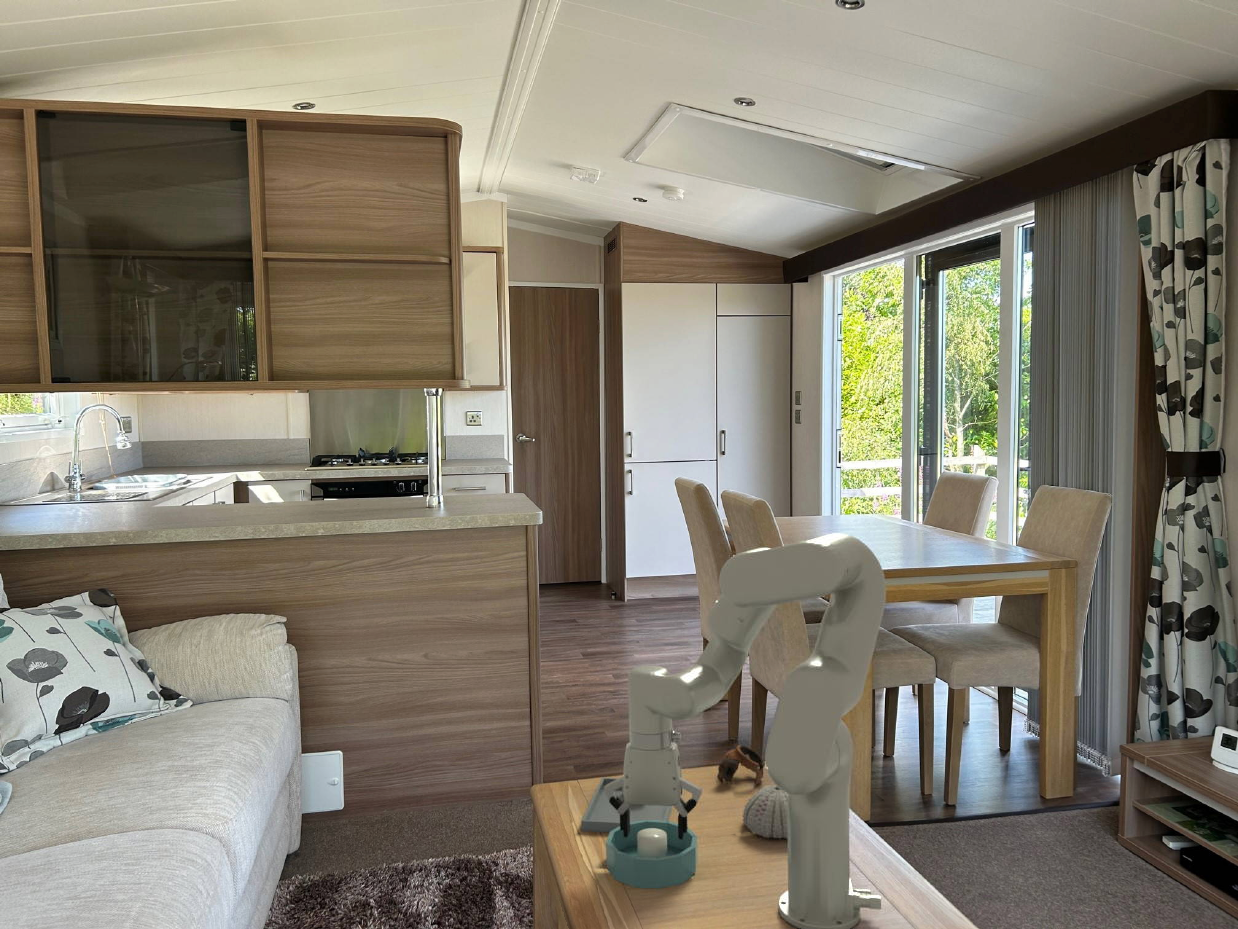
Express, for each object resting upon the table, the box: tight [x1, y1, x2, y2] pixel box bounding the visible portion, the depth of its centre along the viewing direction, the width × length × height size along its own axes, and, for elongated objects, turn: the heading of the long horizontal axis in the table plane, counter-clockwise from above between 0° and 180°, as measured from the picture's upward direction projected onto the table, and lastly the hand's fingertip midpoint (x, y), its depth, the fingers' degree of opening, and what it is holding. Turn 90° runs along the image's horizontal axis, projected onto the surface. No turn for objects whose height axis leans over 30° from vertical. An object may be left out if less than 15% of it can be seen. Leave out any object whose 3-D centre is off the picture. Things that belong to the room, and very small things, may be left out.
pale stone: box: [637, 828, 667, 858], centre depth 158 cm, size 5×5×5 cm
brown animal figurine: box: [717, 744, 766, 785], centre depth 196 cm, size 12×10×8 cm
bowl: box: [605, 820, 699, 890], centre depth 158 cm, size 16×16×5 cm
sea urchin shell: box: [741, 784, 788, 840], centre depth 173 cm, size 13×14×8 cm
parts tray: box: [580, 777, 673, 833], centre depth 181 cm, size 16×22×2 cm
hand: (654, 835), depth 158 cm, fingers open, 9 cm apart
